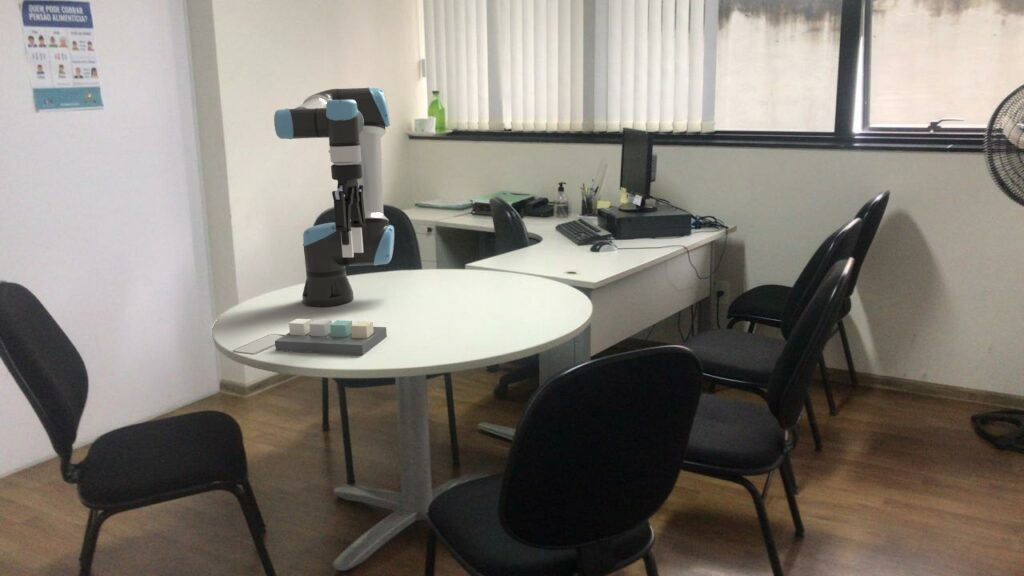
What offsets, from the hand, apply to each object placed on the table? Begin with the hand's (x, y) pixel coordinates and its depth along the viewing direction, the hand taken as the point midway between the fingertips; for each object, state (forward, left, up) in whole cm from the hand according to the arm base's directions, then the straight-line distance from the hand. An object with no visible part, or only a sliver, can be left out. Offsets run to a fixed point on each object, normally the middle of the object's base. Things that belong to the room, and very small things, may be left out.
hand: (353, 254), depth 203 cm
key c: (+10, 0, -18) cm, 21 cm away
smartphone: (+13, -20, -21) cm, 32 cm away
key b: (+10, -6, -18) cm, 22 cm away
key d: (+10, +6, -18) cm, 22 cm away
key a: (+10, -11, -18) cm, 24 cm away
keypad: (+10, -3, -21) cm, 23 cm away
